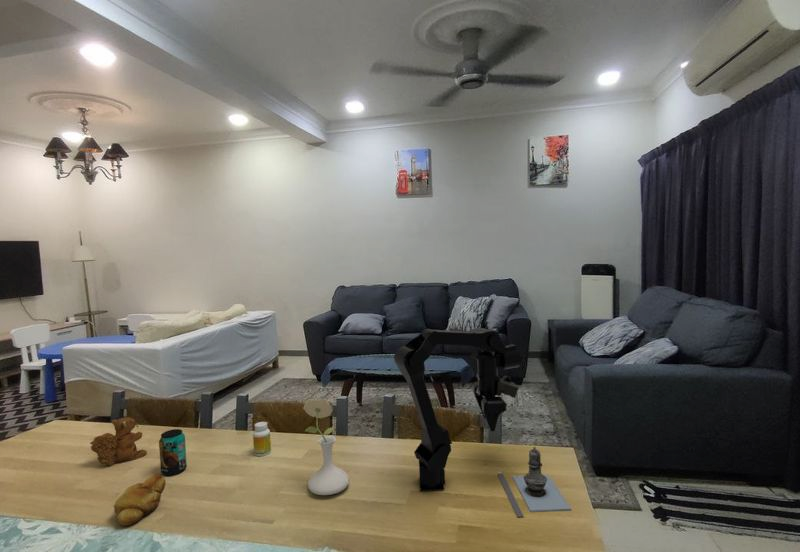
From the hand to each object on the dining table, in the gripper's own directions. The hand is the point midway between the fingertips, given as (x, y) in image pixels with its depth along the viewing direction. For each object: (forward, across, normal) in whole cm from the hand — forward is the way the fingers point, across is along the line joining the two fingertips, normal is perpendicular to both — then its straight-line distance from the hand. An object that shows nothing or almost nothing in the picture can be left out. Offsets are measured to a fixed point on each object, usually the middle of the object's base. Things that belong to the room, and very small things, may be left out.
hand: (489, 424), depth 124 cm
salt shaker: (+13, -14, -9) cm, 21 cm away
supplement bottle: (+13, +16, +72) cm, 75 cm away
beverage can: (+13, +6, +96) cm, 97 cm away
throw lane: (+13, -14, -8) cm, 21 cm away
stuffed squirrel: (+13, +15, +119) cm, 121 cm away
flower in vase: (+13, -7, +47) cm, 49 cm away
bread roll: (+13, -16, +94) cm, 96 cm away
